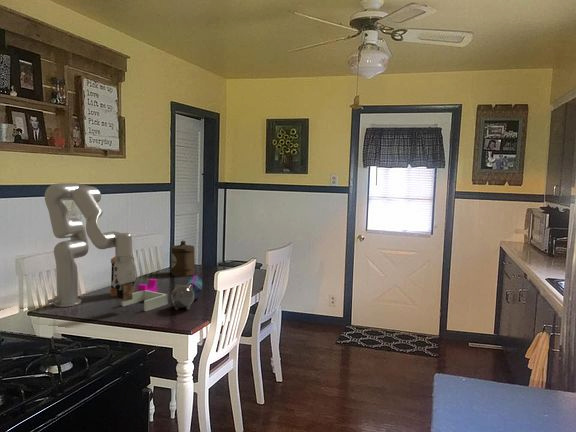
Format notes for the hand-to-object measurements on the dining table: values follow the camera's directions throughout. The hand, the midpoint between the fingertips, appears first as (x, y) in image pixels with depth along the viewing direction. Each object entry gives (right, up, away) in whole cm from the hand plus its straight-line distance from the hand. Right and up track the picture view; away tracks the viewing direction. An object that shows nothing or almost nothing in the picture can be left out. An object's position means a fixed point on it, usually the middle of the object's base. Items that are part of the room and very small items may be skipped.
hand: (124, 296), depth 230 cm
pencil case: (+26, -5, +33) cm, 43 cm away
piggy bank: (+26, -8, +9) cm, 28 cm away
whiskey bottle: (-12, -4, +32) cm, 34 cm away
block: (0, -2, 0) cm, 2 cm away
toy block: (+4, -5, +29) cm, 30 cm away
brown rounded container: (+9, 0, +86) cm, 87 cm away
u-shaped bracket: (+6, -6, +13) cm, 15 cm away
